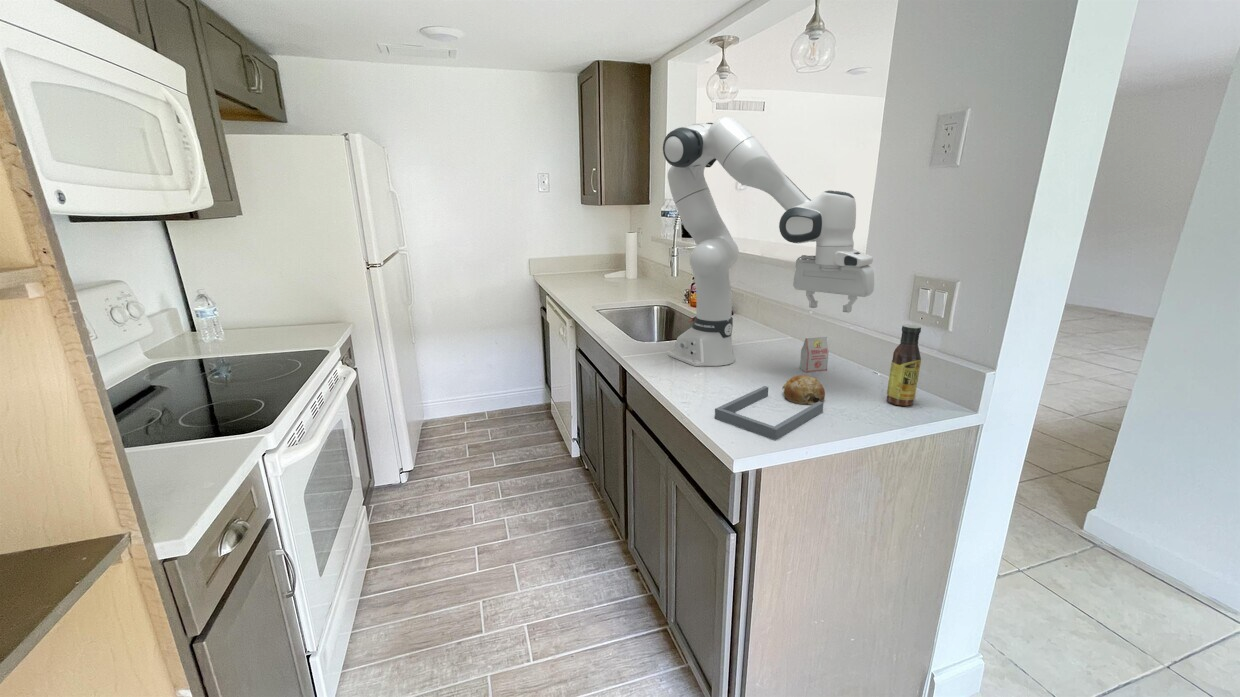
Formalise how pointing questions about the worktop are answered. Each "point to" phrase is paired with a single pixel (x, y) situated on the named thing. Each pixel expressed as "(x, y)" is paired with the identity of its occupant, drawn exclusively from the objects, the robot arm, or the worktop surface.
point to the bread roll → (803, 390)
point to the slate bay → (761, 428)
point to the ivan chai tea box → (814, 354)
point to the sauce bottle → (905, 368)
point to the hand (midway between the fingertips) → (829, 309)
